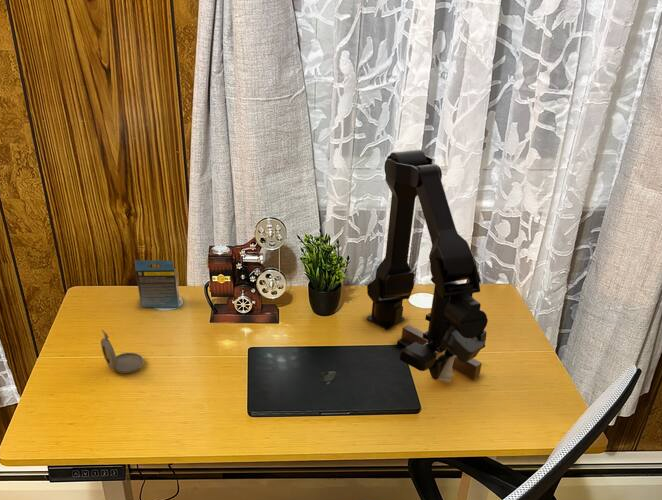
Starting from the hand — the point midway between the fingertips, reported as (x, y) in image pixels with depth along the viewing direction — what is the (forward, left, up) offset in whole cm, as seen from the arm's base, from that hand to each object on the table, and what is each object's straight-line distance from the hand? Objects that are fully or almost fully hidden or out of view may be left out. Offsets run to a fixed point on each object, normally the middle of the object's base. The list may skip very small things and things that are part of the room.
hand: (434, 378), depth 155 cm
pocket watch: (-50, -43, -2) cm, 66 cm away
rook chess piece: (0, +2, -1) cm, 2 cm away
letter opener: (-10, +7, -2) cm, 12 cm away
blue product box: (-65, -22, -2) cm, 68 cm away
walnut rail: (-6, +9, -2) cm, 11 cm away
